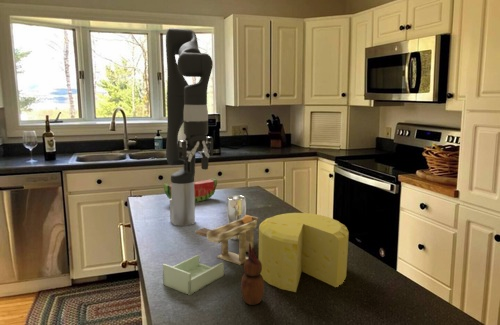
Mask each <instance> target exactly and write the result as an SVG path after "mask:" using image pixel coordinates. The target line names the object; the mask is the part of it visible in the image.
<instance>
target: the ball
mask: <svg viewBox="0 0 500 325" xmlns="http://www.w3.org/2000/svg"><path fill="white" fill-rule="evenodd" d="M245 215H246V216H244V217H243V223H244V224H246V223H249V222H251V221H252V217H251V216H252V215H249V214H245Z"/></svg>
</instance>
